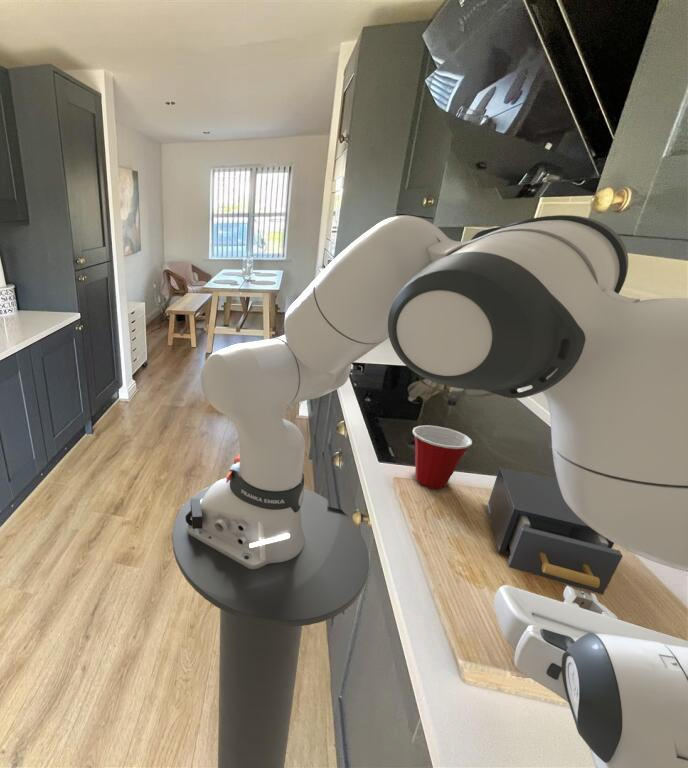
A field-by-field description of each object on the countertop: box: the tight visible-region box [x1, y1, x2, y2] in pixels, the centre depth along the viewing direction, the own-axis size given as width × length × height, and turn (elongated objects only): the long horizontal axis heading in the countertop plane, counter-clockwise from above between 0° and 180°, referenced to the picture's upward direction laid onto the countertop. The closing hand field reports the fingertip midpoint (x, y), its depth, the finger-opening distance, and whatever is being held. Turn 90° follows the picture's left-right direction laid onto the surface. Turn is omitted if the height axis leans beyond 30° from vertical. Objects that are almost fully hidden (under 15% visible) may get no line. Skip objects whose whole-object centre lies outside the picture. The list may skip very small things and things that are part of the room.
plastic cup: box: [412, 424, 473, 490], centre depth 87 cm, size 11×11×12 cm
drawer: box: [507, 514, 624, 596], centre depth 65 cm, size 16×11×8 cm
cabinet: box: [486, 467, 615, 557], centre depth 70 cm, size 14×13×10 cm
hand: (578, 593), depth 56 cm, fingers closed
